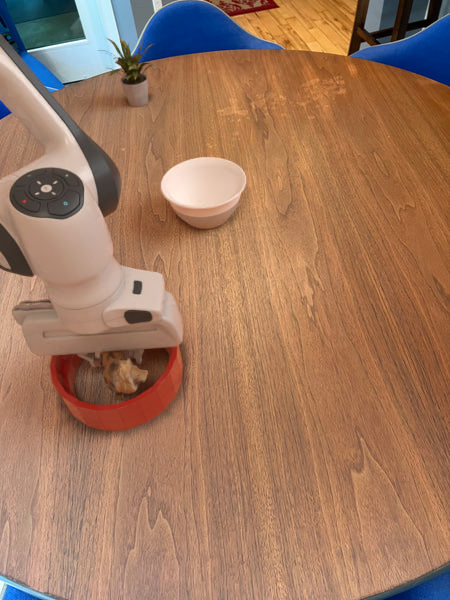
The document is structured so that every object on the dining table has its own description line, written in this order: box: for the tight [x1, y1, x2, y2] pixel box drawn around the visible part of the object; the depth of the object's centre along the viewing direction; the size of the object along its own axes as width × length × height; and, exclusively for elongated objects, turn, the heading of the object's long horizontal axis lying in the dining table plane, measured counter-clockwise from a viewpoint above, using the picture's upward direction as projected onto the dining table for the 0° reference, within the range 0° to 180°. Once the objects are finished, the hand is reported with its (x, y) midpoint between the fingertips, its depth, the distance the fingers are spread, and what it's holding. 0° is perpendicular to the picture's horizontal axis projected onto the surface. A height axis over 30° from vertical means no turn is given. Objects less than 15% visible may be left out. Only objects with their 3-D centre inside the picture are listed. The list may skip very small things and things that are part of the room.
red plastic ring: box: [49, 344, 184, 432], centre depth 69 cm, size 18×18×6 cm
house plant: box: [98, 37, 155, 108], centre depth 123 cm, size 14×14×16 cm
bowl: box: [160, 156, 247, 230], centre depth 91 cm, size 16×16×9 cm
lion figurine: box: [102, 350, 149, 401], centre depth 66 cm, size 15×5×9 cm, turn 30°
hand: (117, 361), depth 68 cm, fingers closed on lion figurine, 4 cm apart
